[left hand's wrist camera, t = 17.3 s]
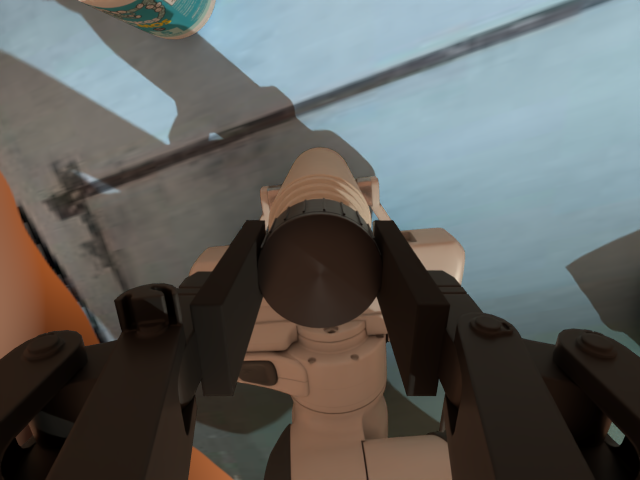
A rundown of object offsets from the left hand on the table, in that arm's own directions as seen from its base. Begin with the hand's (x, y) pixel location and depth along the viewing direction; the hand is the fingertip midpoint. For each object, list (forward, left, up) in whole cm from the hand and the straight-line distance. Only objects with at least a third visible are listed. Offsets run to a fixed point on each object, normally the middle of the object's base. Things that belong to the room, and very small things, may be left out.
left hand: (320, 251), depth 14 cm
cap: (0, 0, +2) cm, 2 cm away
